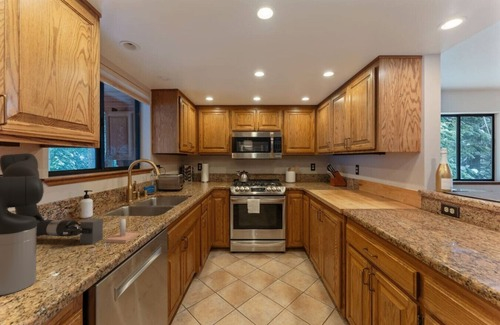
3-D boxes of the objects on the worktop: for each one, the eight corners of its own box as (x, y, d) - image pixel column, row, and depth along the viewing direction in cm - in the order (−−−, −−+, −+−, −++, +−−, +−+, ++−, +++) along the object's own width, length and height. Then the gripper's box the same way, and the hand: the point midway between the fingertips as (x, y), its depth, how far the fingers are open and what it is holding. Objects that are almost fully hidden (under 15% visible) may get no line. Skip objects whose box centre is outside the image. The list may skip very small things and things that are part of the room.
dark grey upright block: (92, 244, 97) (92, 222, 97) (80, 243, 97) (80, 221, 97) (102, 239, 103) (102, 218, 102) (90, 239, 103) (90, 218, 103)
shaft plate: (125, 243, 98) (126, 222, 98) (105, 242, 99) (105, 222, 99) (138, 235, 108) (138, 217, 108) (119, 235, 109) (119, 216, 109)
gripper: (47, 224, 93) (84, 225, 92) (76, 216, 108) (108, 217, 107) (47, 241, 93) (83, 242, 92) (76, 230, 108) (107, 231, 107)
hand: (96, 229), depth 100 cm, fingers closed on dark grey upright block, 6 cm apart
